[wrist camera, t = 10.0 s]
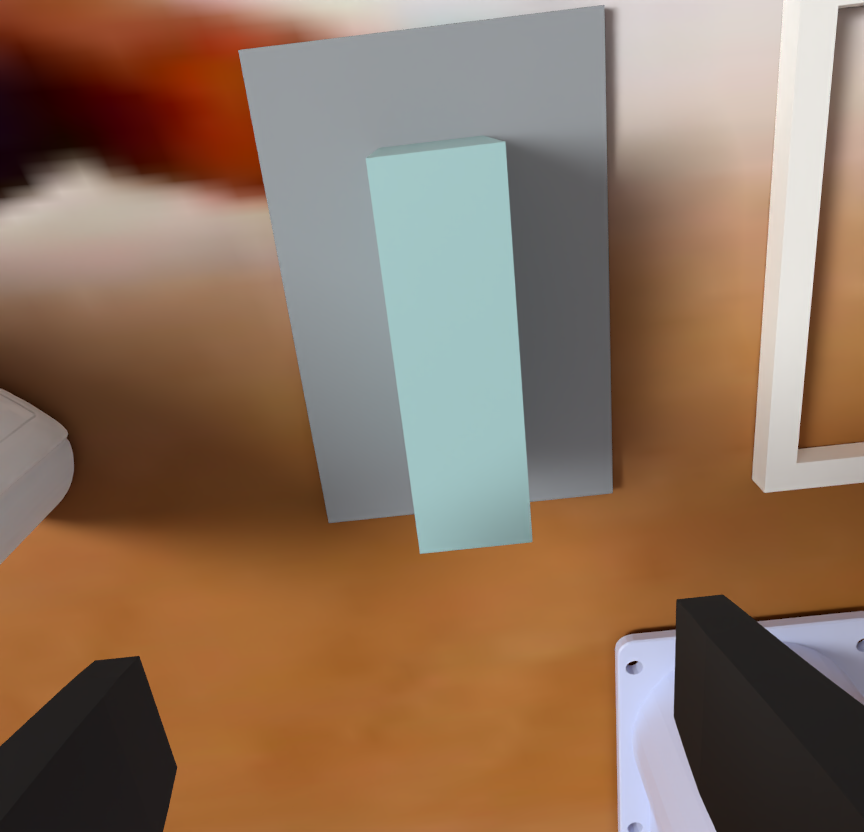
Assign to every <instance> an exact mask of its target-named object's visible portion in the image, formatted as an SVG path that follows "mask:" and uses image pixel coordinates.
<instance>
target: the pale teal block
mask: <svg viewBox="0 0 864 832" xmlns="http://www.w3.org/2000/svg"><path fill="white" fill-rule="evenodd" d="M366 165H367V172H368V179H369V187H370V194H371V201H372V208H373V216H374V223H375V230H376V237H377V245H378V252H379V259H380V266H381V274H382V281H383V288H384V295H385V303H386V310H387V317H388V324H389V332H390V339H391V346H392V353H393V361H394V368H395V375H396V382H397V390H398V397H399V404H400V411H401V419H402V426H403V433H404V440H405V448H406V455H407V462H408V469H409V477H410V484H411V491H412V498H413V506H414V513H415V520H416V527H417V535H418V542H419V549H420V554H422V553H432V552H442V551H451V550H461V549H470V548H480V547H490V546H499V545H509V544H518V543H528V542H532V529H531V514H530V499H529V484H528V469H527V454H526V440H525V425H524V410H523V395H522V380H521V365H520V351H519V336H518V321H517V306H516V291H515V277H514V262H513V247H512V232H511V217H510V202H509V188H508V173H507V158H506V143H505V141H501V140H497V139H494V138H490V137H487V136H475V137H466V138H458V139H450V140H441V141H433V142H424V143H416V144H408V145H399V146H391V147H382V148H378V149H377V150H376V151H374V152H373V153H372V154H371V155H369V156H368V157H367V158H366Z"/></svg>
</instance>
